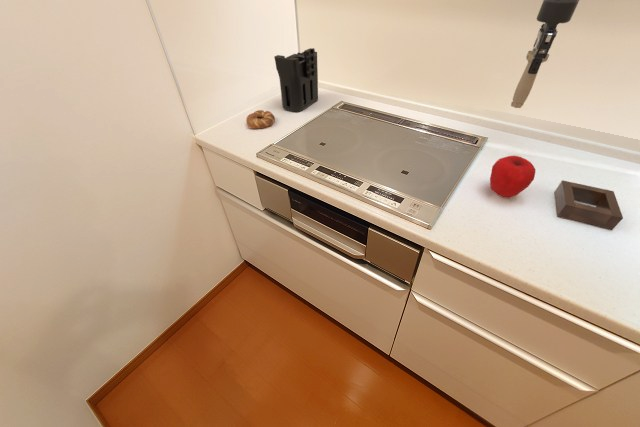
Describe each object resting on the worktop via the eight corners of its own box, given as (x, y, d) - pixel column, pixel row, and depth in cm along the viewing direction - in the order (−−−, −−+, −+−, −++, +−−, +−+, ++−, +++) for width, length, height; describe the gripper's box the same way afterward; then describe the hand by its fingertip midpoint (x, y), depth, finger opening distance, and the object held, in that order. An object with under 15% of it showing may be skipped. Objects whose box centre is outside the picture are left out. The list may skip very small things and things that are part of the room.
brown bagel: (259, 133, 110) (258, 123, 107) (239, 125, 115) (237, 116, 112) (281, 121, 117) (280, 112, 114) (261, 114, 122) (260, 105, 119)
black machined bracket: (279, 109, 125) (272, 52, 110) (305, 93, 138) (302, 40, 123) (302, 115, 120) (298, 56, 106) (327, 98, 133) (327, 43, 119)
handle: (511, 110, 90) (533, 56, 80) (504, 102, 95) (525, 50, 85) (528, 110, 90) (552, 56, 79) (520, 102, 94) (543, 50, 84)
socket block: (603, 203, 76) (613, 191, 74) (612, 230, 69) (623, 218, 66) (554, 192, 80) (561, 180, 78) (557, 216, 73) (565, 204, 70)
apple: (484, 179, 85) (499, 145, 78) (522, 187, 82) (541, 153, 74) (481, 198, 79) (496, 164, 72) (521, 209, 75) (542, 173, 68)
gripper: (583, 3, 68) (547, 79, 79) (576, -5, 77) (545, 64, 88) (545, 2, 71) (516, 76, 82) (543, -5, 80) (517, 62, 91)
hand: (531, 69), depth 85 cm, fingers closed on handle, 6 cm apart
